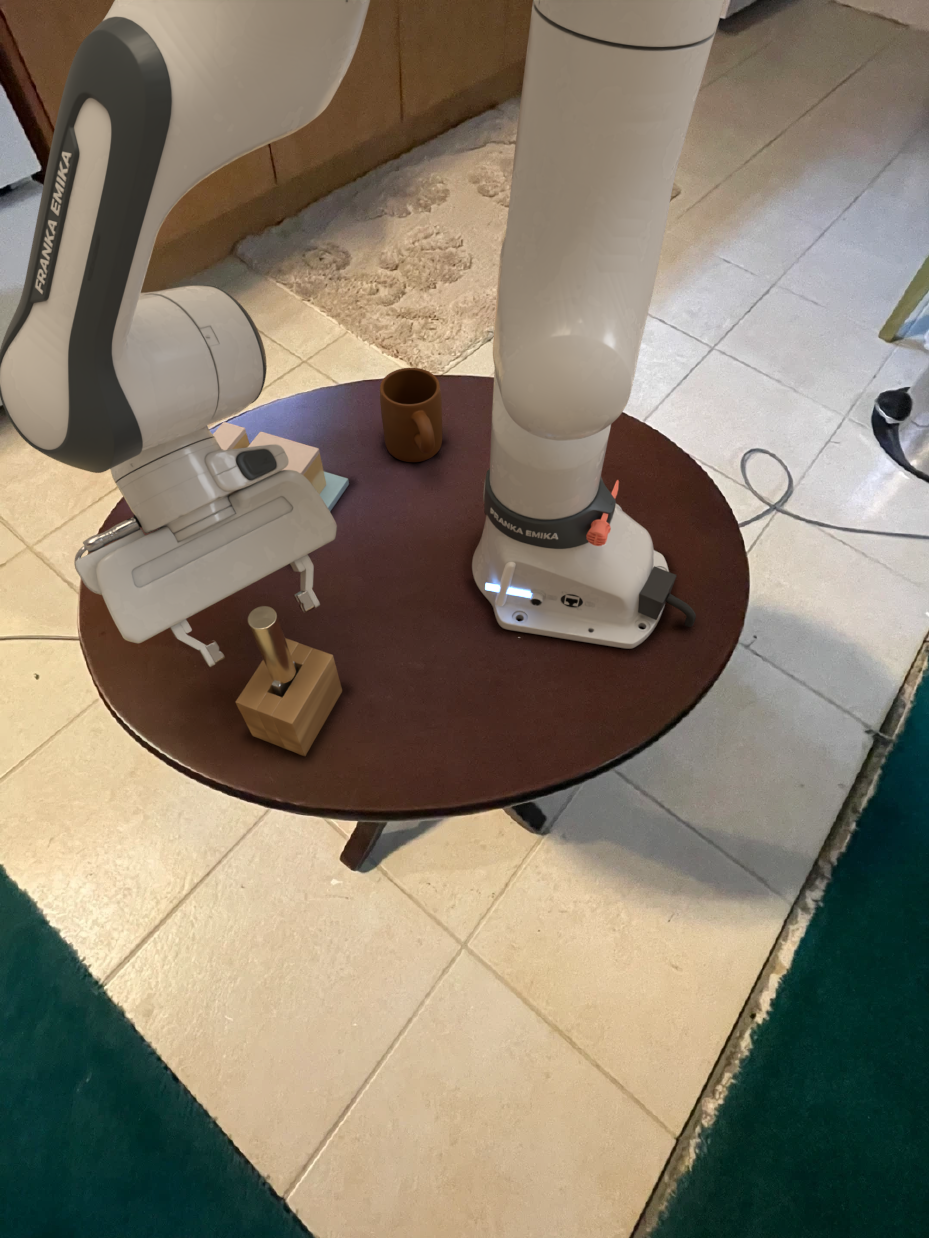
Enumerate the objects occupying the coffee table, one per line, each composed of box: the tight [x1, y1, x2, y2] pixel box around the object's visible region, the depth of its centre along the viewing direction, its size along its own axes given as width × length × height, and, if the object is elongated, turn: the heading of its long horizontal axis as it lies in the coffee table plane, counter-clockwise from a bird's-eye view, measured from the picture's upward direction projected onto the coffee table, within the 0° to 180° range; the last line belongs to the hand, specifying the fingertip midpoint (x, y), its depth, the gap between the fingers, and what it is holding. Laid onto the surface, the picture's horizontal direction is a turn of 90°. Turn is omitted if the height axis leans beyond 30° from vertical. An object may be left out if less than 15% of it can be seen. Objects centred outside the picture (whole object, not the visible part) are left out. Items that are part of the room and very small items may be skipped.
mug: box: [379, 367, 443, 463], centre depth 96 cm, size 12×8×9 cm, turn 18°
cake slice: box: [212, 421, 251, 450], centre depth 92 cm, size 3×10×6 cm, turn 158°
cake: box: [248, 431, 350, 512], centre depth 92 cm, size 18×14×7 cm
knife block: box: [235, 637, 343, 757], centre depth 75 cm, size 6×8×7 cm
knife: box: [247, 605, 298, 698], centre depth 71 cm, size 2×3×17 cm
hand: (265, 635), depth 68 cm, fingers open, 8 cm apart
